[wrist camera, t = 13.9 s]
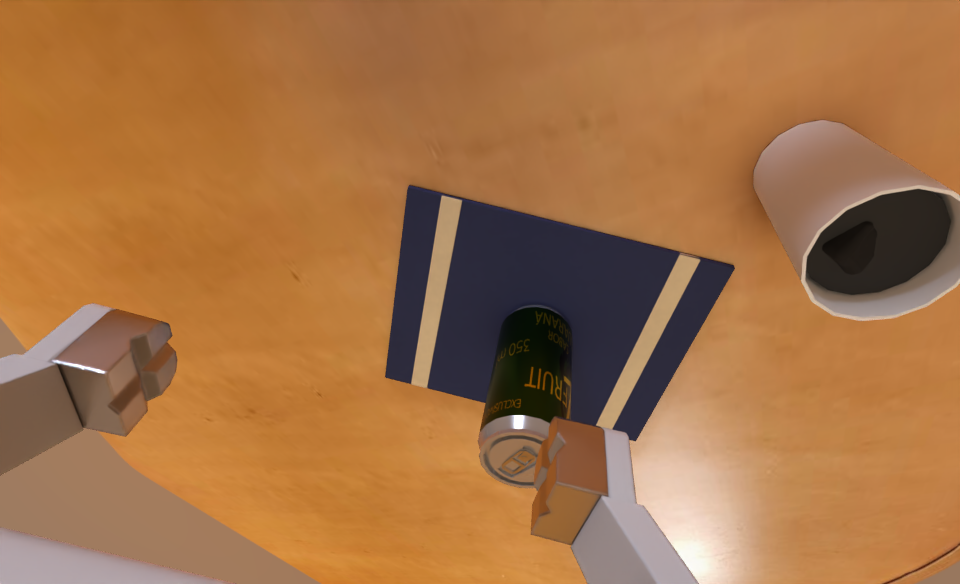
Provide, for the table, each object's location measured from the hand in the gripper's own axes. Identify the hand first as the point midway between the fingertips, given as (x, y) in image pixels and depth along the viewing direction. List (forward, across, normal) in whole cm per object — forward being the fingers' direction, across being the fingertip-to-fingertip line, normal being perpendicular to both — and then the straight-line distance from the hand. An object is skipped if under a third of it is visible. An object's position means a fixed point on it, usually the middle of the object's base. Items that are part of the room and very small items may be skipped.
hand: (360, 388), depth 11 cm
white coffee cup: (+24, -19, 0) cm, 31 cm away
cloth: (+24, -7, +16) cm, 30 cm away
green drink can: (+24, -7, +16) cm, 30 cm away
